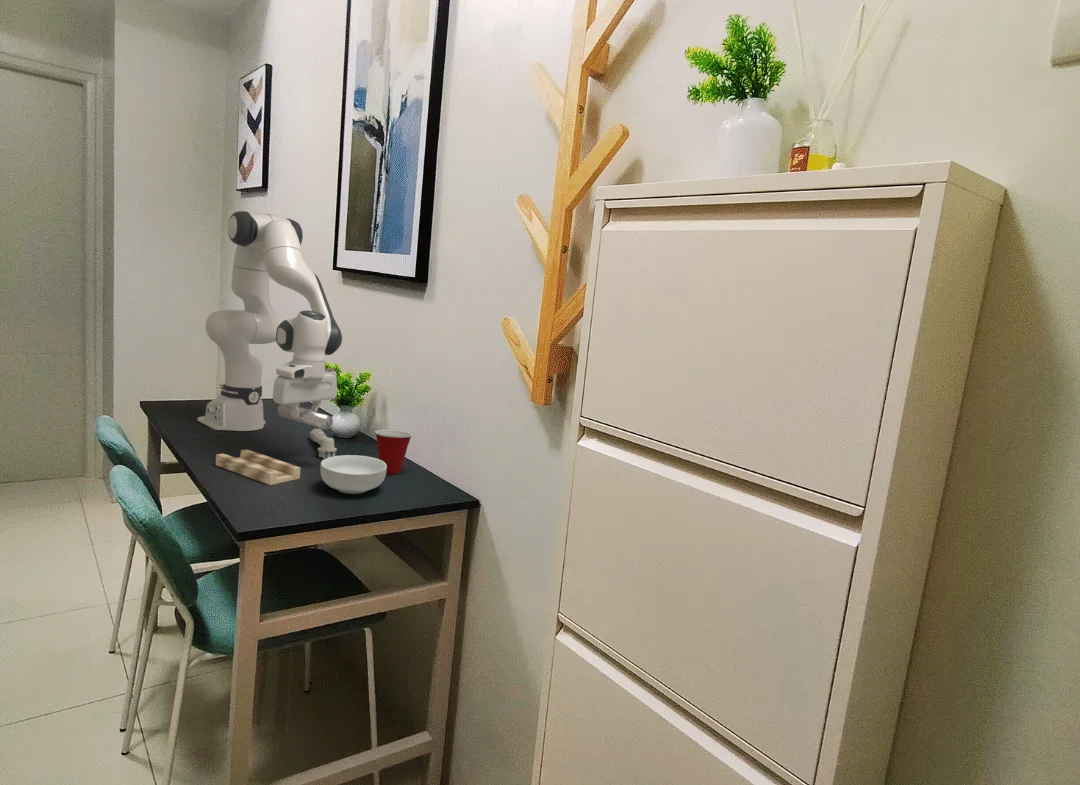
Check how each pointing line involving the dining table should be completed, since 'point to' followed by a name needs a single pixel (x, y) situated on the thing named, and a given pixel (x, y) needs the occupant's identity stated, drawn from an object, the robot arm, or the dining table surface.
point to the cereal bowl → (353, 473)
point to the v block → (259, 467)
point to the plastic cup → (392, 448)
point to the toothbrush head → (323, 443)
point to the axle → (307, 416)
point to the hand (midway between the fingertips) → (304, 416)
